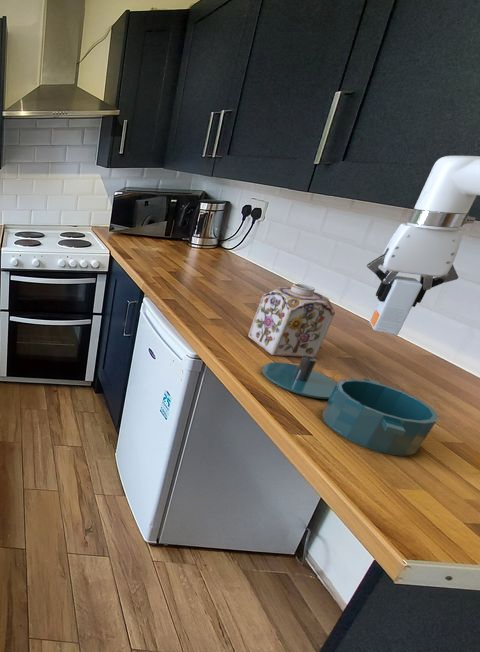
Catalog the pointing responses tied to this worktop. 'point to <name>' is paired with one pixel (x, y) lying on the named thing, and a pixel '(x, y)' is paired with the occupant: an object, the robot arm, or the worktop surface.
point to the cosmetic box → (395, 305)
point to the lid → (300, 378)
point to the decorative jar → (292, 321)
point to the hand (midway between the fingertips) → (395, 301)
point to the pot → (379, 416)
